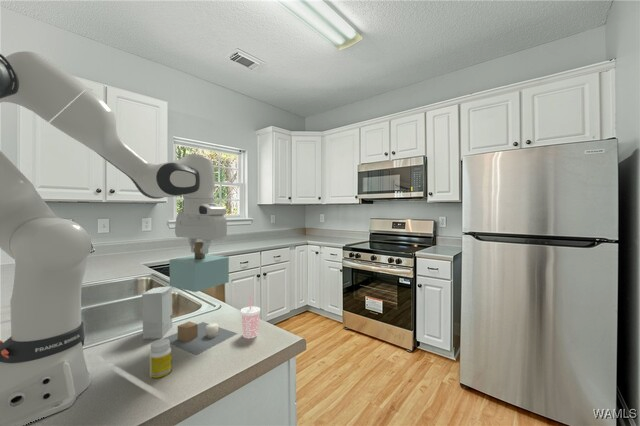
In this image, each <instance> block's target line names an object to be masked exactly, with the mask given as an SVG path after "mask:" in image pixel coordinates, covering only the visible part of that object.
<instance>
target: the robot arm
mask: <svg viewBox="0 0 640 426" xmlns="http://www.w3.org/2000/svg"><path fill="white" fill-rule="evenodd" d="M0 103H10V104H11V103H12V104H14V105H18V106H21V107H23V108H25V109H26V110H29V111H31V112H33V113H34V114H36V115H37V116H39V117H40V118H41V119H43V120H44V121H45V122H47V123H49V124H50V125H51V126H53V127H55V128H56V129H58V130H59V131H60V132H62V133H64V134H65V135H67V136H68V137H70V138H71V139H73V140H76V141H77V142H78V143H80V144H82V145H83V146H85V147H86V148H88V149H90V150H91V151H93V152H94V153H96V154H97V155H99V156H100V157H101V158H103V159H104V160H106V162H108V163H109V164H111V165H112V166H113V167H115V168H116V169H118V170H119V171H120V172H121V173H123V174H125V176H127V177H128V178H129V179H130V180H131V181H132V183H133V184H134V185H135V187H136V188H137V190H138V192H140V193H141V194H142V195H143V196H145V197H146V198H149V199H154V200H156V199H157V200H158V199H159V200H160V199H163V198H172V197H174V198H175V197H180V196H183V208H180V210H179V211H178V213H177V215H176V218H175V226H174V234H175V236H176V237H177V238H184V239H185V238H186V239H187V240H188V243H189V246H190V252H191V253H193V254H195V247H194V243H195V242H198V240H202V241H201V242H202V243H204V244H203V247H202V248H200V251H201V252H200V253H201V254H208V255H209V248H210V246H211V244H212V241H224V240H225V239H226V238H227V236H228V235H227V232H228V223H227V217H226V216H225V215H226V214H227V210H228V209H227V208H226V207H225V206H223V205H221V204H219V203H217V202H216V197H215V194H214V192H215V191H214V190H215V187H216V186H215V185H216V179H215V178H216V176H215V167H214V164H213V161H212V159H210V158H209V157H207V156H206V155H202V154H196V153H188V154H186V155H185V156H184V157H182V158H179V159H176V160H173V161H172V160H171V161H167V162H163V163H159V164H155V163H151V162H148V161H147V160H145V159H143V158H142V157H141V156H140V155H139V154H137V153H136V152H135V151H134V150H133V149H132V148H131V147H129V146H128V145H127V144H126V143H125V142H123V141H122V140H121V138H120V136H119V135H118V131H117V119H116V116H115V113H114V111H113V110H112V109H111V108H110V107H109V106H108V105H107V103H106V102H105V101H104V100H103V99H102V98H101V97H100V96H98V95H97V94H96V93H95V92H94V91H92V90H91V89H90V88H89V87H88V86H87V85H85V84H84V83H82V82H81V81H80V80H78V79H77V78H76V77H75V76H74V75H72V74H71V73H68V72H67V71H66V70H65V69H64V68H62V67H61V66H59V65H57V64H55V63H54V62H52V61H50V59H47V58H46V57H44V56H42V55H40V54H38V53H36V52H33V51H28V50H27V51H25V50H24V51H16V52H13V53H11V54H9V55H7V56H4V54H2V53H0ZM0 249H1V250H2V251H4V252H5V253H6V254H7V255H8V256H10V258H12V260H14V262H15V264H14V265H15V268H14V279H13V286H12V287H13V288H12V291H11V292H12V293H11V297H10V300H9V304H10V337H8V338H7V339H6V340H5V341H4V342H3V341H2V340H1V339H0V426H23V425H24V426H27V425H29V424H31V423H30V422H32V423H34V422H36V421H35V420H37V421H39V420H42V419H44V418H47V417H49V416H52V415H54V414H56V413H60V412H61V411H64V410H65V409H68V408H70V407H71V406H73V404H74V403H75V401H76V399H77V397H79V395H81V394H82V393H83V392H84V391H85V390H86V389H87V388H88V387H89V386H90V385H91V382H92V376H91V375H90V373H89V371H88V367H87V362H86V358H85V353H84V345H85V337H86V335H85V333H86V331H85V325H84V322H83V321H82V287H83V280H84V276H85V271H86V266H87V260H88V256H89V255H90V253H91V251H92V239H91V237H90V234H89V233H88V232H87V230H86V229H85V228H84V227H82V226H81V225H80V224H79V223H77V222H75V221H73V220H70V219H66V218H61V217H59V216H57V214H55V212H53V210H52V209H51V207H50V206H48V204H47V203H46V202H45V200H44V199H43V198H42V196H41V195H40V193H39V192H38V190H37V189H36V188H35V185H34V184H33V183H32V182H31V181H30V180H29V179H28V178H27V177H26V176H25V174H24V173H23V172H22V171H21V170H20V169H19V168H18V167H17V166H16V165H15V164H14V163H13V162H12V161H11V160H10V159H9V158H8V157H7V156H6V155H5V154H4V153H3V151H1V150H0ZM43 417H44V418H43ZM41 418H42V419H41ZM38 419H39V420H38ZM33 421H34V422H33ZM28 423H29V424H28ZM26 424H27V425H26Z"/></svg>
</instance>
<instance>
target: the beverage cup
mask: <svg viewBox="0 0 640 426" xmlns="http://www.w3.org/2000/svg"><path fill="white" fill-rule="evenodd" d="M260 314H261V307H258V306H256V305H255V306H254V305H252V293H250V294H249V306H245V307H243V308H241V309H240V315H241V326H242V327H241V329H242V330H241V331H242V337H243V338H245V339H254V338H256V337H258V336H259V327H260V326H259V325H260Z"/></svg>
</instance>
